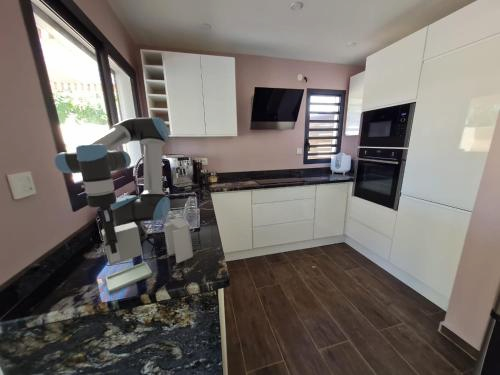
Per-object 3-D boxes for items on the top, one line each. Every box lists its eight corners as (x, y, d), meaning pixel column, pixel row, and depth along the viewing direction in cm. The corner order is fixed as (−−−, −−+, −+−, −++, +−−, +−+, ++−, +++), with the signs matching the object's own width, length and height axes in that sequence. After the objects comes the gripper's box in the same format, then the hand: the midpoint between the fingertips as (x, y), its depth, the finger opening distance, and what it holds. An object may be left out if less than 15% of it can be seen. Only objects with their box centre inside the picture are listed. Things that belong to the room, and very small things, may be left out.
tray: (105, 279, 72) (105, 277, 72) (145, 264, 81) (145, 261, 80) (109, 293, 65) (108, 290, 65) (152, 275, 74) (152, 272, 73)
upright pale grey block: (107, 258, 70) (101, 229, 68) (138, 248, 76) (133, 221, 74) (109, 266, 65) (102, 234, 63) (142, 254, 72) (137, 225, 69)
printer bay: (167, 252, 89) (163, 221, 85) (182, 247, 93) (178, 217, 90) (177, 263, 80) (172, 229, 77) (193, 256, 85) (189, 224, 82)
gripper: (85, 190, 68) (98, 250, 73) (87, 200, 54) (104, 274, 59) (110, 187, 73) (122, 243, 78) (119, 195, 59) (132, 263, 64)
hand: (114, 256), depth 69 cm, fingers closed on upright pale grey block, 6 cm apart
